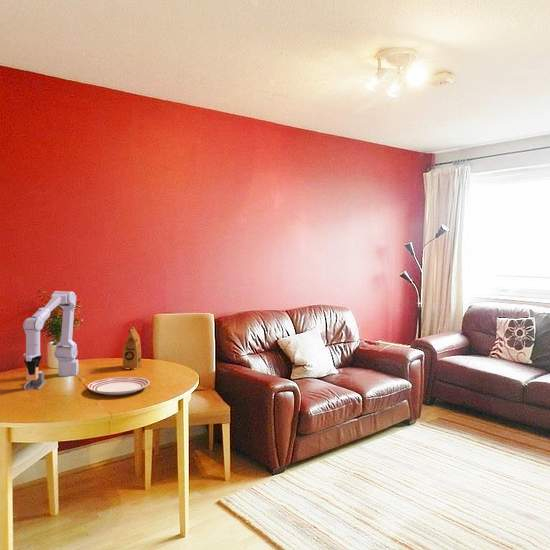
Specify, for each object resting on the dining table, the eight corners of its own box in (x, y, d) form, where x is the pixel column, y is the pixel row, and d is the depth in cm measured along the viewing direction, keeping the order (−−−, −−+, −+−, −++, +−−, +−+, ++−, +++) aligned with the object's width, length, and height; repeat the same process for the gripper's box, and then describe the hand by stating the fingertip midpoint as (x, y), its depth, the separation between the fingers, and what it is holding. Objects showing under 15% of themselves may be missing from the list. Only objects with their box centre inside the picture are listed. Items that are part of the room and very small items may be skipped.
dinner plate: (88, 384, 228) (88, 377, 228) (146, 380, 238) (146, 373, 238) (87, 401, 203) (87, 394, 203) (152, 396, 213) (152, 388, 213)
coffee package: (119, 370, 257) (119, 330, 256) (125, 364, 269) (126, 326, 268) (137, 370, 257) (138, 330, 256) (143, 364, 269) (143, 326, 268)
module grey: (43, 381, 227) (43, 370, 226) (41, 384, 223) (41, 373, 222) (34, 382, 226) (34, 371, 226) (32, 384, 222) (32, 373, 222)
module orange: (38, 377, 218) (38, 366, 218) (35, 379, 215) (35, 368, 214) (28, 377, 218) (28, 366, 217) (26, 380, 214) (26, 368, 214)
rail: (46, 384, 226) (46, 377, 226) (39, 391, 215) (39, 384, 215) (31, 384, 225) (31, 378, 225) (24, 392, 213) (24, 385, 213)
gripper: (28, 341, 222) (28, 369, 222) (18, 347, 208) (18, 377, 208) (44, 341, 223) (44, 369, 224) (35, 347, 209) (35, 377, 210)
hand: (33, 373), depth 216 cm, fingers closed on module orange, 4 cm apart
